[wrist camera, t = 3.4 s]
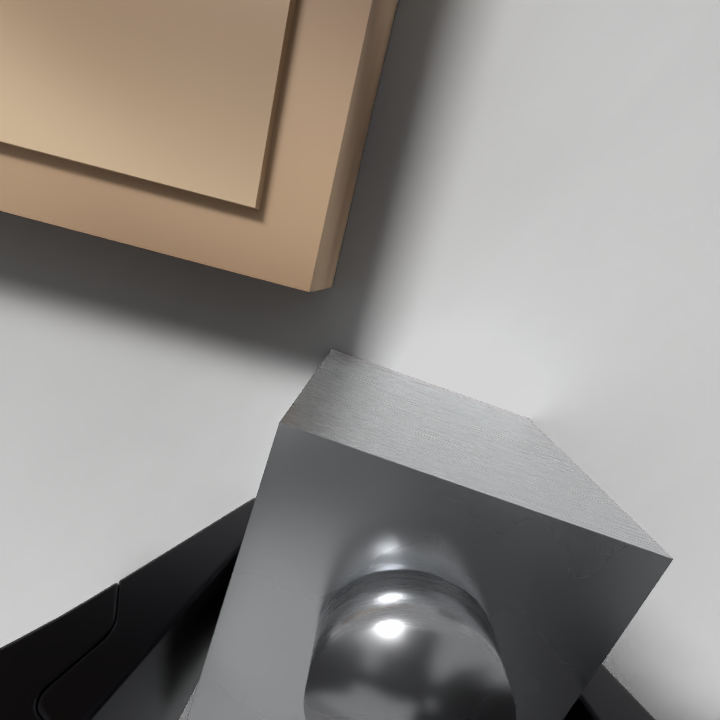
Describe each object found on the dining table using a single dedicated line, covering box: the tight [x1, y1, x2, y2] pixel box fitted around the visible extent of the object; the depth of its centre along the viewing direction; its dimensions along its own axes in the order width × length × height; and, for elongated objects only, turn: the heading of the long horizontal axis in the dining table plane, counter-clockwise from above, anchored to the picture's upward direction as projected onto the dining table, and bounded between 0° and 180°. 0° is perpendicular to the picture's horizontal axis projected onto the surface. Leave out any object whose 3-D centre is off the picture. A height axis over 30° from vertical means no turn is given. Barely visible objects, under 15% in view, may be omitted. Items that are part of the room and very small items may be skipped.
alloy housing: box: [187, 349, 673, 720], centre depth 7 cm, size 8×5×5 cm, turn 161°
